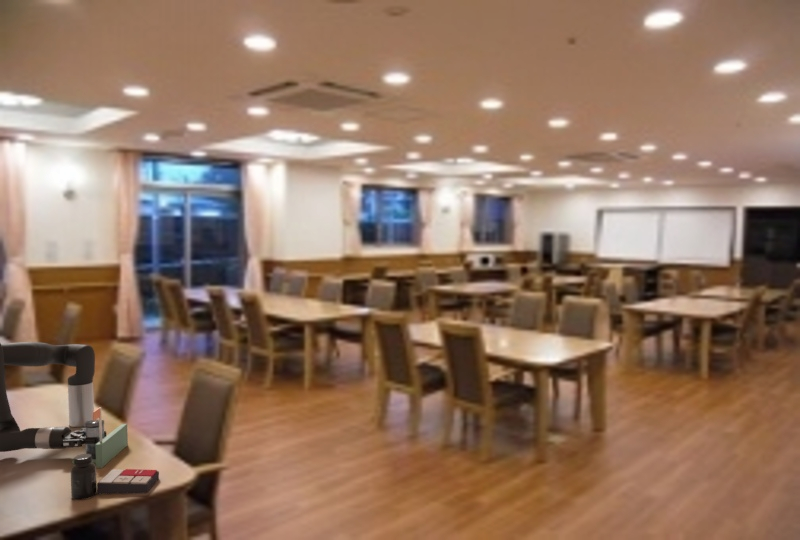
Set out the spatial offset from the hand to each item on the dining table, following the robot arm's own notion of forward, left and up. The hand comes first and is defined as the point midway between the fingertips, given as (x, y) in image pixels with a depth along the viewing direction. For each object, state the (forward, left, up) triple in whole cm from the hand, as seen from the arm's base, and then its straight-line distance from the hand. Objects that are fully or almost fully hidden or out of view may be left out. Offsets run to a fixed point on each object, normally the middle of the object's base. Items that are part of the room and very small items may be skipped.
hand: (101, 437), depth 216 cm
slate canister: (0, -2, -6) cm, 7 cm away
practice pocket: (+2, -1, -7) cm, 7 cm away
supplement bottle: (+33, +9, -7) cm, 35 cm away
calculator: (+27, +19, -7) cm, 34 cm away
